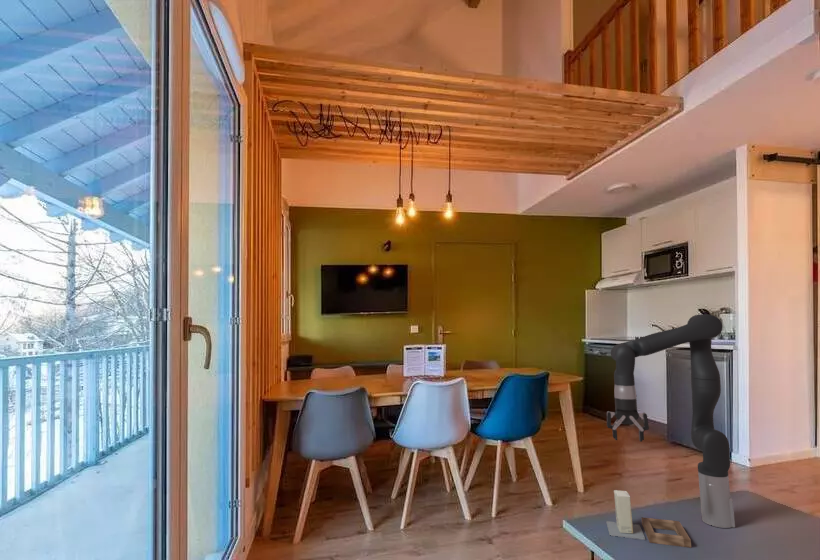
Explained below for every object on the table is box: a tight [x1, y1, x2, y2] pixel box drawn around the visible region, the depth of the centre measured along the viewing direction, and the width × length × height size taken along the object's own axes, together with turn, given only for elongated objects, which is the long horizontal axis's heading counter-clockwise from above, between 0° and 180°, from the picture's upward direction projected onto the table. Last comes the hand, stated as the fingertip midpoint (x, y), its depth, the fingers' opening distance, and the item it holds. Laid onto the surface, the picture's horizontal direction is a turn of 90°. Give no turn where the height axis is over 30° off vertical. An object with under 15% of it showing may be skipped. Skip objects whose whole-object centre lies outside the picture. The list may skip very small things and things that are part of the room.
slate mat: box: [605, 520, 646, 541], centre depth 154 cm, size 11×11×1 cm
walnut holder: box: [640, 517, 692, 549], centre depth 151 cm, size 12×14×2 cm
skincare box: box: [613, 489, 633, 533], centre depth 155 cm, size 6×4×12 cm
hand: (628, 440), depth 167 cm, fingers open, 8 cm apart
